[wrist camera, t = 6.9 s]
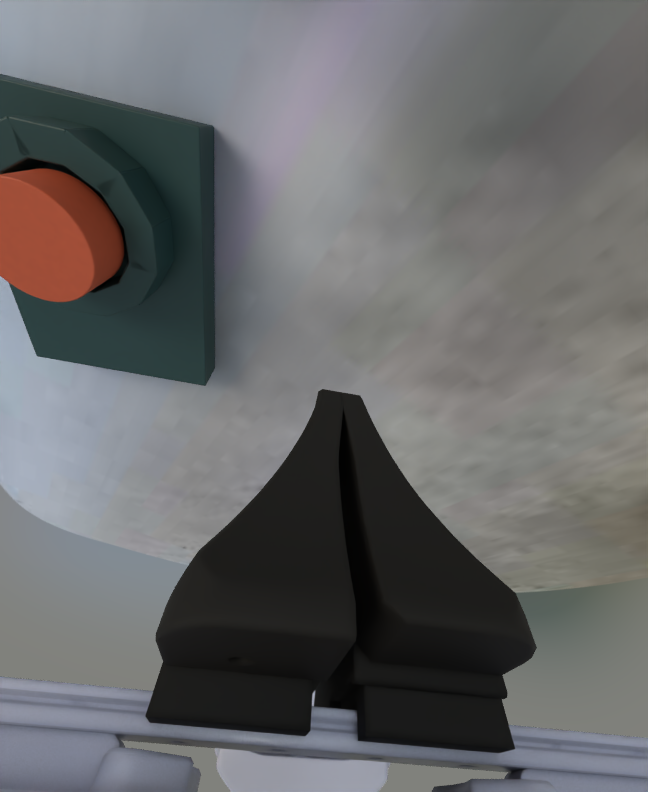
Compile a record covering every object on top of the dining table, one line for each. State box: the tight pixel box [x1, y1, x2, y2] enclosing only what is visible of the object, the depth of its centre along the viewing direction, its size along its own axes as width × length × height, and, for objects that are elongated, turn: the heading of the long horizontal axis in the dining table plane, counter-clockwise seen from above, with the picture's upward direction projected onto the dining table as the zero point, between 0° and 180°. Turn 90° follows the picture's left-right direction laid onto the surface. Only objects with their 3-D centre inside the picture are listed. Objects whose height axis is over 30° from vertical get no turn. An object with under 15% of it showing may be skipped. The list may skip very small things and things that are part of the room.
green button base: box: [0, 74, 215, 386], centre depth 17 cm, size 13×10×4 cm
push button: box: [0, 168, 124, 302], centre depth 14 cm, size 4×4×2 cm
